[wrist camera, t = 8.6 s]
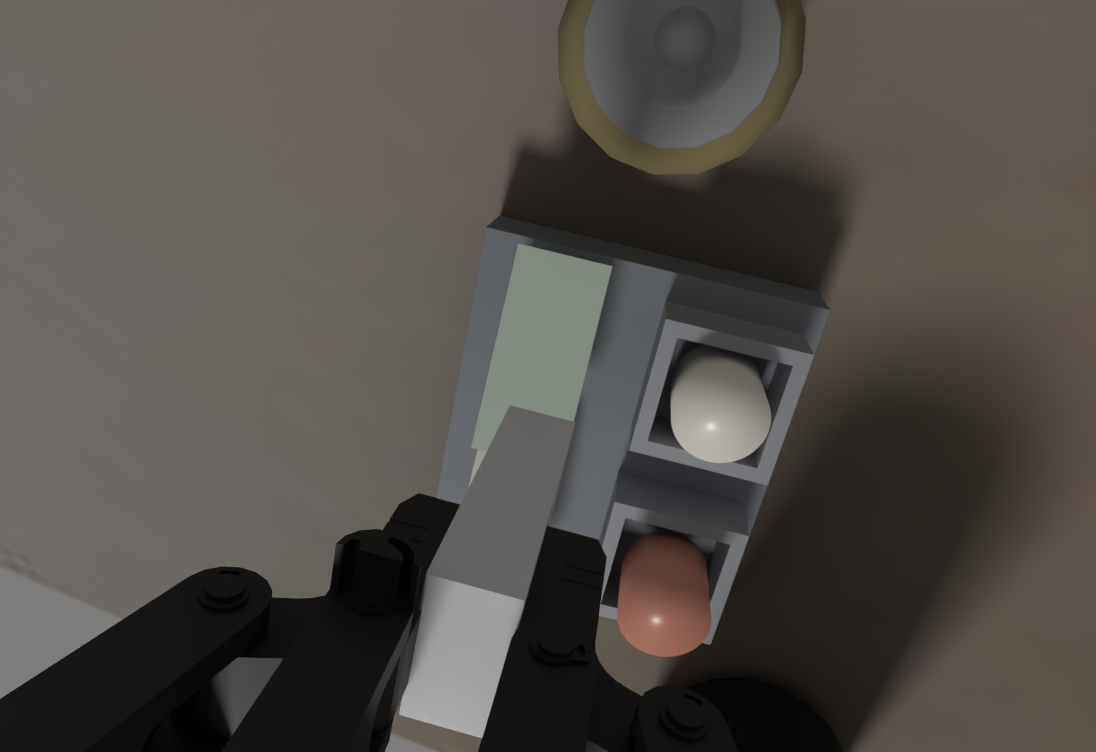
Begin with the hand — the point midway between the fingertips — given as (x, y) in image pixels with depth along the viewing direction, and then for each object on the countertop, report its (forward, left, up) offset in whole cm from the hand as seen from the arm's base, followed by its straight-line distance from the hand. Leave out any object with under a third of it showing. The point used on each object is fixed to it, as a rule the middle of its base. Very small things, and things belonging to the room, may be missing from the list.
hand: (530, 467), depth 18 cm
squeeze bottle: (-1, -9, -19) cm, 21 cm away
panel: (-2, +6, -19) cm, 20 cm away
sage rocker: (+1, +2, -14) cm, 14 cm away
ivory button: (-6, +2, -15) cm, 16 cm away
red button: (-6, +10, -14) cm, 18 cm away
